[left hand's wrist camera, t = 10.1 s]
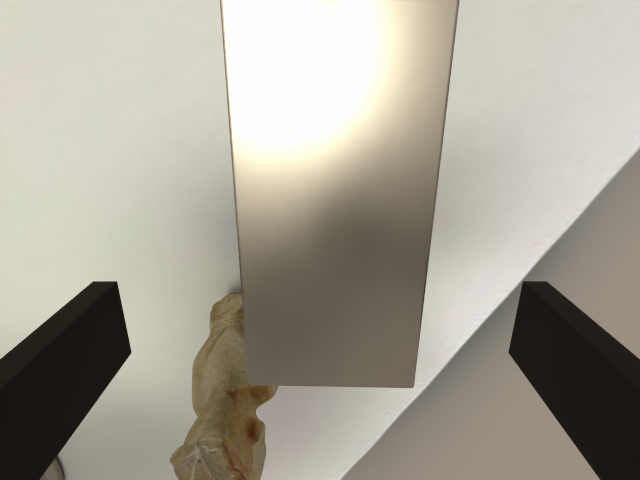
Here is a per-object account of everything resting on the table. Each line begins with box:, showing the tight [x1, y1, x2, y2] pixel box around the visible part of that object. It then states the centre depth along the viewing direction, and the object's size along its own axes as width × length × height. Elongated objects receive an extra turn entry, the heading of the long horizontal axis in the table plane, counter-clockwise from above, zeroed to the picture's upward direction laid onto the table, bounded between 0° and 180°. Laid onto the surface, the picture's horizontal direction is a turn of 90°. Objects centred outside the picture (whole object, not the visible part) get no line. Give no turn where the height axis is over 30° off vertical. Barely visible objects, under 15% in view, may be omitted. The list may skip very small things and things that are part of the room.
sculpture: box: [170, 293, 278, 480], centre depth 26 cm, size 6×7×15 cm
